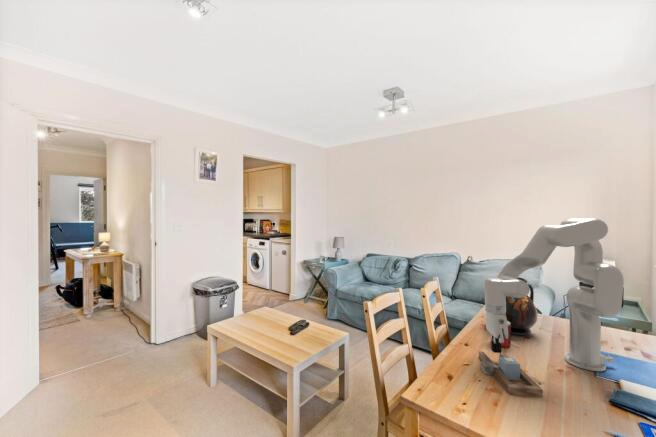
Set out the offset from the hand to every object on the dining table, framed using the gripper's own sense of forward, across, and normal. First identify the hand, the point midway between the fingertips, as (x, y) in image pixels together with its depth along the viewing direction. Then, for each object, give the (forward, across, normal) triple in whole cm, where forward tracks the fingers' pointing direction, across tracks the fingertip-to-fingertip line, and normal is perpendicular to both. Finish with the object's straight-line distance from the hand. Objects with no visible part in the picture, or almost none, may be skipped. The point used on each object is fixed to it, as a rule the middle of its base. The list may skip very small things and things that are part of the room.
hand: (496, 351), depth 117 cm
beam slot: (+4, -10, +3) cm, 11 cm away
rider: (+4, -12, +1) cm, 13 cm away
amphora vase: (+5, +34, -23) cm, 42 cm away
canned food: (+4, +17, -9) cm, 19 cm away
